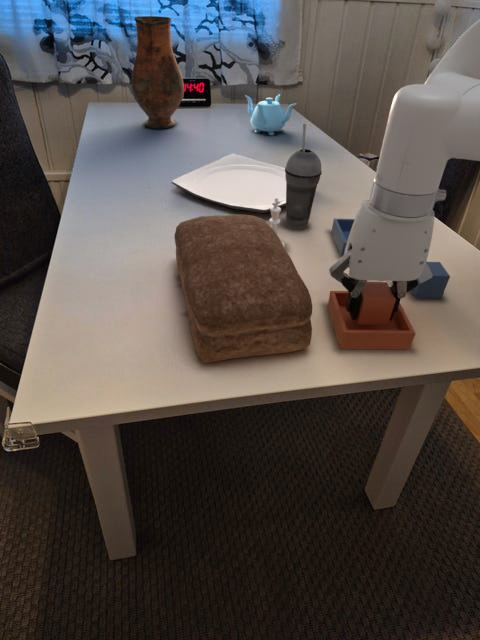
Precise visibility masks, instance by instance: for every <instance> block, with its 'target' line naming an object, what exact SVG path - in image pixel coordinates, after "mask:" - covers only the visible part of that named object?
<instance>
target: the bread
mask: <svg viewBox="0 0 480 640" xmlns="http://www.w3.org/2000/svg"><path fill="white" fill-rule="evenodd" d="M173 238H174V243H175V260H176V264H177V268H178V273H179V277H180V285H181V289H182V291H183V294H184V299H185V304H186V305H185V306H186V312H187V313H186V314H187V317H188V323H189V326H190V327H189V328H190V331H191V336H192V339H193V344H194V348H195V352H196V355H198V356H199V357H200V358H201V359H202V361H203V363H213V362H220V361H226V360H233V359H239V358H247V357H253V356H255V357H257V356H265V355H275V354H286V353H293V352H297V351H301V350H305V349H307V348H309V346H311V343H312V336H313V325H312V320H311V318H312V315H313V301H312V297H311V294H310V291H309V289H308V287H307V285H306V284H305V282H304V280H303V279H302V277H301V276H300V274H299V272H298V270H297V267H296V266H295V263H294V261H293V259H292V257H291V256H290V255H289V253H288V252H287V250H286V247H285V248H284V246H283V244H282V242H283V241H282V240H281V239H280V237H279V236H278V233H277V234H276V233H275V232H274V230H273V229H272V228H271V225H270V224H269V223H268V222H267V221H266V220H265V219H264V218H262V217H259V216H256V215H252V214H244V213H243V214H241V213H240V214H229V215H228V214H226V215H206V216H205V215H201V216H198V217H194V218H191V219H186V220H184V221H181V222H180V223H179V224H177V225H176V227H175V231H174V237H173ZM281 241H282V242H281Z"/></svg>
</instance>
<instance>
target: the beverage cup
mask: <svg viewBox="0 0 480 640" xmlns="http://www.w3.org/2000/svg"><path fill="white" fill-rule="evenodd" d="M306 129H307V124H306V123H303V124H302V142H301V143H302V145H301V148H300V149H297V150H295V152H293V153H292V154H291V155H290V156H289V157H288V160H287V161H286V165H285V167H284V168H285V172H286V173H285V177H286V205H285V225H286V227H287V228H289V229H291V230H294V231H302V230H305V229H307V228H308V224H309V221H310V217H311V213H312V209H313V205H314V200H315V196H316V192H317V188H318V184H319V182H320V180H321V176H322V174H323V172H322V171H323V170H322V162H321V159H320V157H319V156H318V154H317V153H316V152H315V151H313V150H311V149H308V148H306V132H307V131H306Z"/></svg>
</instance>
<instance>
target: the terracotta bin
mask: <svg viewBox="0 0 480 640" xmlns="http://www.w3.org/2000/svg"><path fill="white" fill-rule="evenodd" d="M348 293H349V291H348V290H330V292H329V295H328V300H327V306H326V307H327V310H328V314H329V317H330V320H331V324H332V327H333V331H334V333H335V337H336V340H337V343H338V346H339V349H341V350H346V349H347V350H406V351H407V350H411V347H412V345H413V342H414V339H415V336H416V331H415V330H414V328H413V326H412V323H411V322H410V319H409V318H408V316H407V314H406V312H405V310H404V308H403V306H402V304H401V302H400V303H399V306H398V309H397V312H394V315H393V319H392V320H389V323H388V325H375V324H357V321H356V320H352V319H351V316H350V313H349V312H347V310H346V301H347V297H348Z"/></svg>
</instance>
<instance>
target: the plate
mask: <svg viewBox="0 0 480 640" xmlns="http://www.w3.org/2000/svg"><path fill="white" fill-rule="evenodd" d="M285 168H286V167H283V166H280V165H275V164H272V163H269V162H265V161H260V160H257V159H254V158H252V157H251V158H250V157H247V156H243V155H240V154H238V153H230V154H228V155H226V156H223V157H221V158H219V159H216V160H214V161H212V162H210V163H208V164H205V165H203V166H201V167H198V168H196V169H194V170H192V171H190V172H188V173H185V174H184V175H180V176H178V177H176V178H173V179H172V180H171V184H172V185H174V186H175V187H177V188H179V189H181V190H183V191H185V192H186V193H188V194H191V195H192V196H194V197H195V198H198V199H201V200H204V201H207V202H211V203H213V204H217V205H220V206H223V207H225V208H226V207H227V208H230V209H235V210H241V211H247V212H252V213H259V214H266V213H269V212H271V211H270V208H271V207H273V205H272V203H273V202H275V198H278V200H279V201H280V204H278V207H280V208H283V207H286V177H285V173H286V172H285Z"/></svg>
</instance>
